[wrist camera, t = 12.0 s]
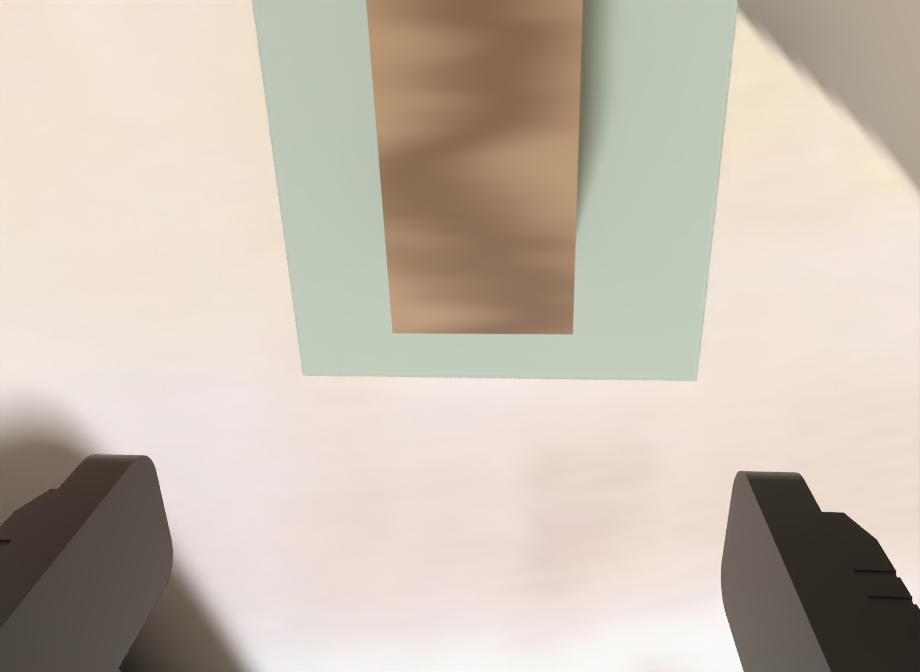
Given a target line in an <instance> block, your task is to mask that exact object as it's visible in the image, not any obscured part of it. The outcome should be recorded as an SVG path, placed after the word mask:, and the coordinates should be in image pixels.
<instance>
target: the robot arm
mask: <svg viewBox="0 0 920 672" xmlns="http://www.w3.org/2000/svg"><path fill="white" fill-rule="evenodd" d="M172 559H173V548H172V540H171V536H170V531H169V527H168V522H167V518H166V513H165V509H164V504H163V500H162V495H161V491H160V486H159V481H158V477H157V472H156V469H155V466H154V463H153V462H152V460H151V459H150V458H149V457H147V456H144V455H103V454H93V455H90V456H88V457H87V458H86V459H85V460H83V462H82V463H81V464H80V465H79V466H78V467H77V468H76V469H75V470H74V472H73V473H72V474H71V475H70V476H69V477H68V478H67V479H66V480H65V482H64V483H63V484H62V485H61V486H60V487H59V488H58V489H50V490H48V491H47V492H45V493H43V494H42V495H40V496H39V497H37V498H35V499H34V500H32V501H31V502H29V503H28V504H26V505H24V506H23V507H21V508H20V509H18V510H16V511H15V512H14V513H13V514H12V515H11V516H10V517H9V518H8V519H7V520H6V521H5V522H4V523H3V524H2V525H1V526H0V672H117V670H118V668H119V667H120V665H121V663H122V661H123V660H124V658H125V656H126V655H127V653H128V651H129V649H130V648H131V646H132V644H133V643H134V641H135V639H136V637H137V636H138V634H139V632H140V631H141V629H142V627H143V625H144V624H145V622H146V620H147V619H148V617H149V615H150V613H151V612H152V610H153V608H154V606H155V605H156V603H157V601H158V600H159V598H160V596H161V594H162V593H163V591H164V589H165V587H166V585H167V582H168V579H169V576H170V572H171V567H172ZM721 588H722V597H723V604H724V608H725V612H726V616H727V619H728V622H729V625H730V629H731V632H732V635H733V638H734V641H735V645H736V648H737V651H738V654H739V658H740V661H741V664H742V667H743V671H744V672H920V609H919V608H918V606H917V604H913V602H912V596H911V595H910V593H909V591H908V590H907V588H906V586H905V585H904V583H903V582H902V580H901V578H900V577H897V576H896V570H895V568H894V567H893V565H892V564H891V562H890V560H889V559H888V557H887V555H886V554H885V552H884V551H883V549H882V547H881V546H880V544H879V542H878V541H877V539H875V538H874V537H873V536H872V535H870V534H869V533H868V532H867V531H866V530H864V529H863V528H862V527H861V526H859V525H858V524H857V523H856V522H854V521H853V520H852V519H851V518H850V517H848V516H847V515H846V514H845V513H839V512H822V511H821V510H820V508H819V506H818V504H817V502H816V500H815V499H814V497H813V495H812V493H811V491H810V489H809V488H808V486H807V484H806V482H805V480H804V479H803V477H802V476H801V475H800V474H799V473H795V472H753V471H739V472H738V473H737V475H736V477H735V479H734V483H733V489H732V496H731V502H730V509H729V516H728V523H727V530H726V536H725V543H724V550H723V557H722V564H721Z"/></svg>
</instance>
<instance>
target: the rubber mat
mask: <svg viewBox="0 0 920 672" xmlns="http://www.w3.org/2000/svg"><path fill="white" fill-rule="evenodd" d="M737 2H738V0H583V8H582V43H581V77H580V111H579V145H578V179H577V213H576V247H575V282H574V316H573V335H566V334H423V333H393V332H392V320H391V307H390V295H389V282H388V270H387V257H386V244H385V232H384V219H383V207H382V194H381V182H380V169H379V156H378V144H377V131H376V119H375V106H374V94H373V81H372V68H371V56H370V43H369V31H368V18H367V6H366V0H252V3H253V10H254V18H255V25H256V32H257V40H258V47H259V55H260V62H261V69H262V77H263V84H264V92H265V99H266V106H267V114H268V121H269V128H270V136H271V143H272V151H273V158H274V165H275V173H276V180H277V188H278V195H279V202H280V210H281V217H282V224H283V232H284V239H285V247H286V254H287V261H288V269H289V276H290V284H291V291H292V298H293V306H294V313H295V320H296V328H297V335H298V343H299V350H300V357H301V365H302V372H303V376H371V377H445V378H518V379H591V380H664V381H696V380H697V371H698V362H699V352H700V343H701V334H702V325H703V316H704V306H705V297H706V288H707V279H708V270H709V260H710V251H711V242H712V233H713V224H714V214H715V205H716V196H717V187H718V177H719V168H720V159H721V150H722V141H723V131H724V122H725V113H726V104H727V95H728V85H729V76H730V67H731V58H732V48H733V39H734V30H735V21H736V12H737Z"/></svg>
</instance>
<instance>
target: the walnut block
mask: <svg viewBox="0 0 920 672" xmlns="http://www.w3.org/2000/svg"><path fill="white" fill-rule="evenodd" d="M366 6H367V18H368V31H369V43H370V56H371V68H372V81H373V94H374V106H375V119H376V131H377V144H378V156H379V169H380V182H381V194H382V207H383V219H384V232H385V244H386V257H387V270H388V282H389V295H390V307H391V320H392V332H393V333H423V334H566V335H573V316H574V282H575V247H576V213H577V179H578V145H579V111H580V77H581V43H582V8H583V0H366Z"/></svg>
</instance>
